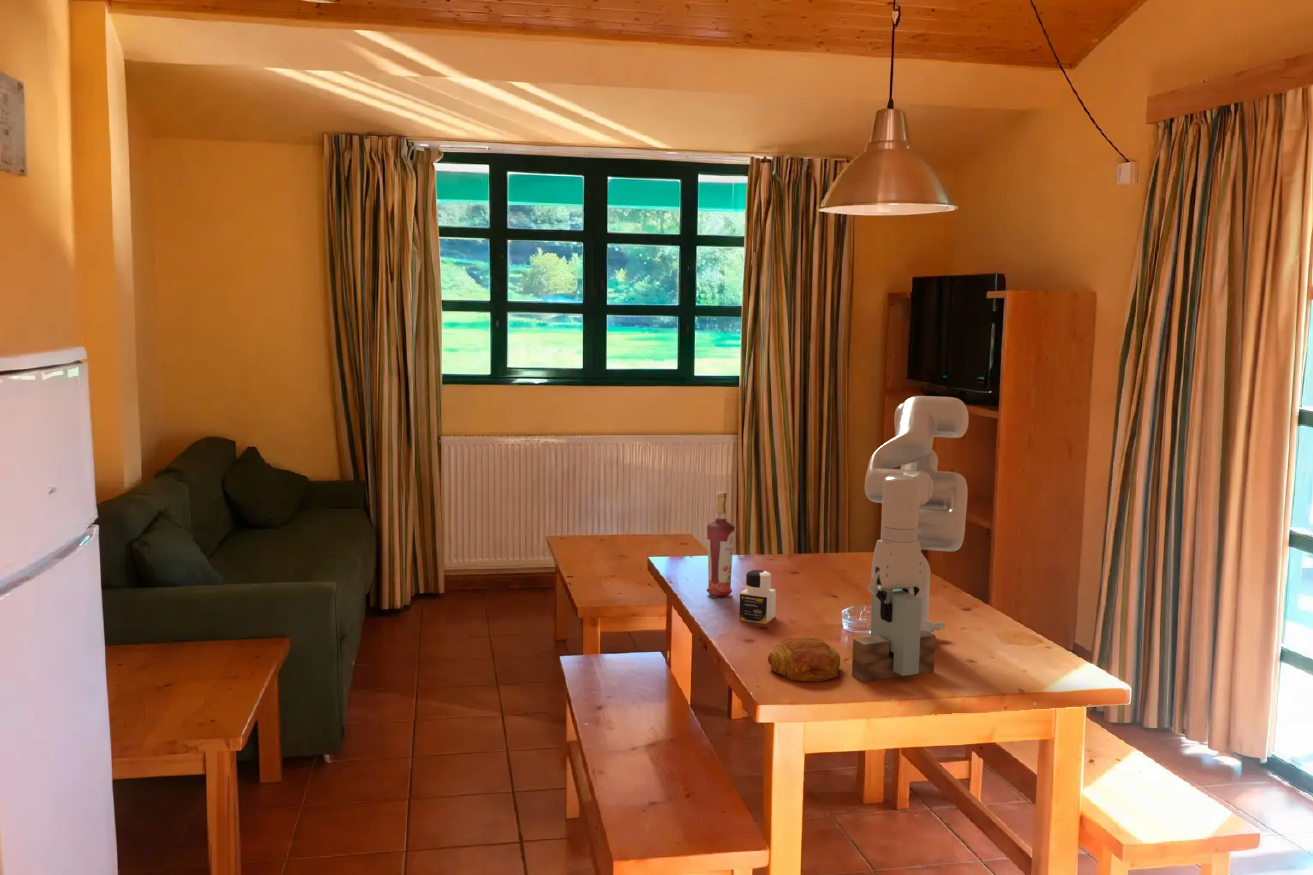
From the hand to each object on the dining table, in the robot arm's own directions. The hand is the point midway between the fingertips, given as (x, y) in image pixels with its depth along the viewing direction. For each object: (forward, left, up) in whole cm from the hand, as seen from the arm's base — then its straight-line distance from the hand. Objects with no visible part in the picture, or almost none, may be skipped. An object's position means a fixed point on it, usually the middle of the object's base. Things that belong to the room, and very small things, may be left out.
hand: (895, 618), depth 223 cm
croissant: (+17, -8, -12) cm, 22 cm away
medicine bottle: (+9, -45, -12) cm, 48 cm away
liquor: (+9, -67, -12) cm, 69 cm away
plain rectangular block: (0, 0, -10) cm, 10 cm away
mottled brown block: (0, 0, -12) cm, 12 cm away
